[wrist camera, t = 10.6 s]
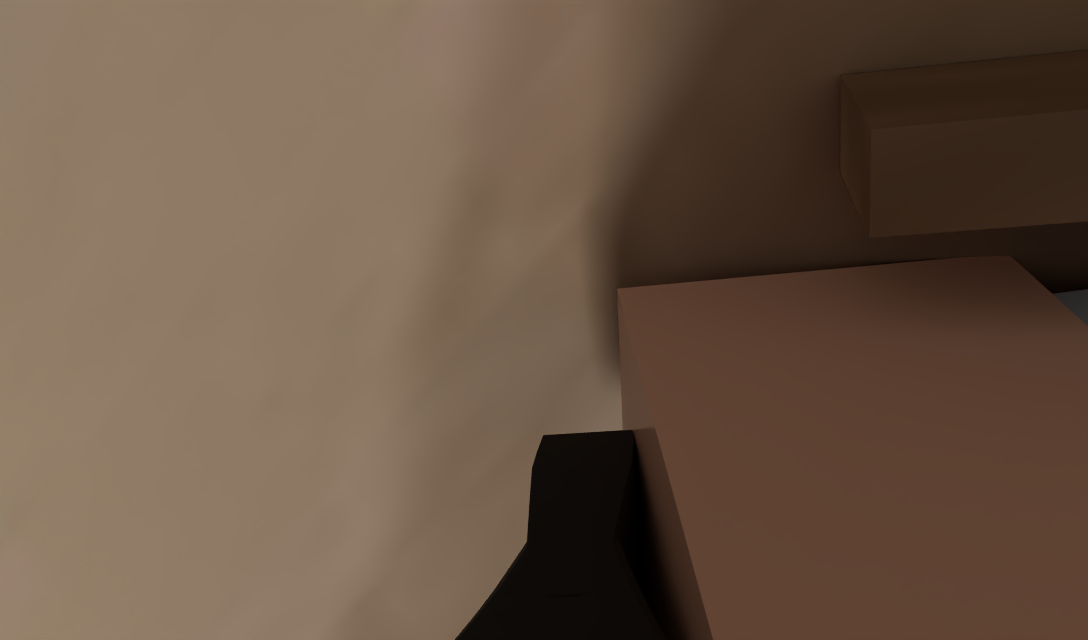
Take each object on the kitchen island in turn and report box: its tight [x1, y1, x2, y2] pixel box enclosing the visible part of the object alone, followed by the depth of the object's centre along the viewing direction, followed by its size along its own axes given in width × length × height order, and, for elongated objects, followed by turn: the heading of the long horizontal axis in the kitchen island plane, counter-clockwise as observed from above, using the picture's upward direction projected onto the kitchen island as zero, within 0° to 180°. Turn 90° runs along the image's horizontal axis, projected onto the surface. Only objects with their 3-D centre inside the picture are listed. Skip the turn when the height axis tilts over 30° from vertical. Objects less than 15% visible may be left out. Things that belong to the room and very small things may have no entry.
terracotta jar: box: [617, 256, 1088, 640], centre depth 11 cm, size 5×5×7 cm
